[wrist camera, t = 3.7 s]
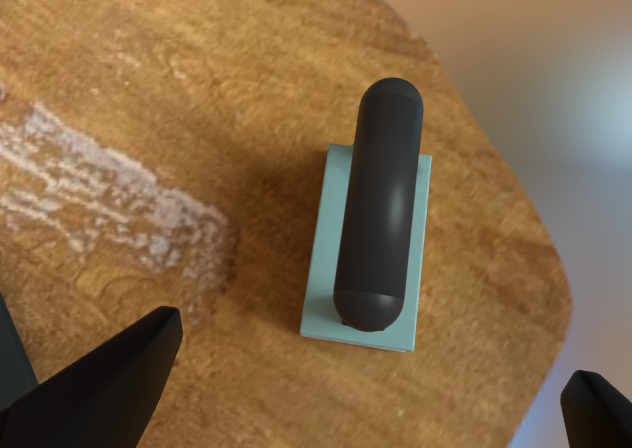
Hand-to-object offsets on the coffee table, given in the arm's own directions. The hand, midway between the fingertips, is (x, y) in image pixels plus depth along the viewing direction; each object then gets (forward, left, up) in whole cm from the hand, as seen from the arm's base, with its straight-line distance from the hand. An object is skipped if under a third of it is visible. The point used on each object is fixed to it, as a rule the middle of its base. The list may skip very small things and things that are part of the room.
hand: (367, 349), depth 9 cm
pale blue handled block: (+1, -5, -11) cm, 12 cm away
